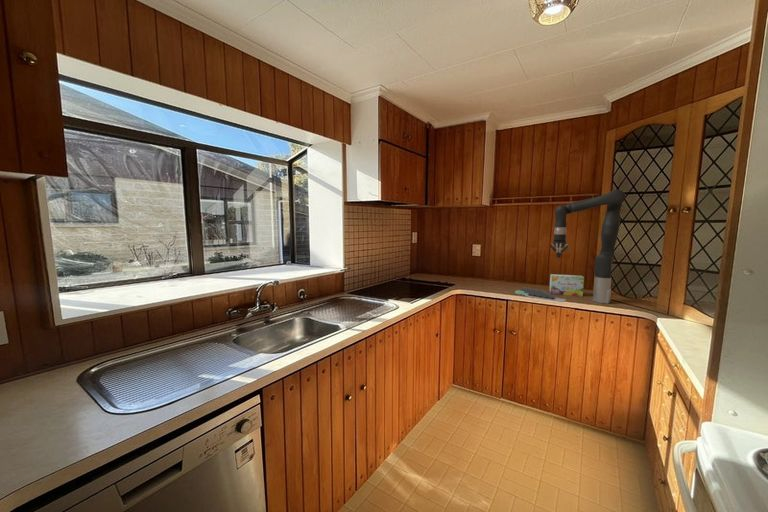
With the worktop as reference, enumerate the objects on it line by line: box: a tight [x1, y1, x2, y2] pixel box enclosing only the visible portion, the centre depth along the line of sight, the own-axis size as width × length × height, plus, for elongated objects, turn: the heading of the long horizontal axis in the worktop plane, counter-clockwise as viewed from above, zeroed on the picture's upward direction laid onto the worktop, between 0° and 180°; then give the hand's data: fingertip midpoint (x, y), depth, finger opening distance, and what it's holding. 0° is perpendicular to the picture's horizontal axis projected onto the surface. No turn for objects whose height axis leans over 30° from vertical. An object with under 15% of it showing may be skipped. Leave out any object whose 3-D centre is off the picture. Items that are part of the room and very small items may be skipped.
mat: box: [524, 295, 567, 303], centre depth 219 cm, size 26×10×1 cm, turn 44°
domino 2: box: [520, 285, 535, 296], centre depth 226 cm, size 2×5×10 cm
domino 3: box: [526, 286, 541, 297], centre depth 224 cm, size 2×5×10 cm
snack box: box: [548, 273, 585, 297], centre depth 227 cm, size 21×6×15 cm, turn 73°
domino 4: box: [532, 287, 547, 298], centre depth 221 cm, size 2×5×10 cm
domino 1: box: [514, 289, 530, 297], centre depth 230 cm, size 2×5×10 cm
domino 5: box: [538, 288, 556, 301], centre depth 218 cm, size 2×5×10 cm
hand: (558, 257), depth 219 cm, fingers closed
